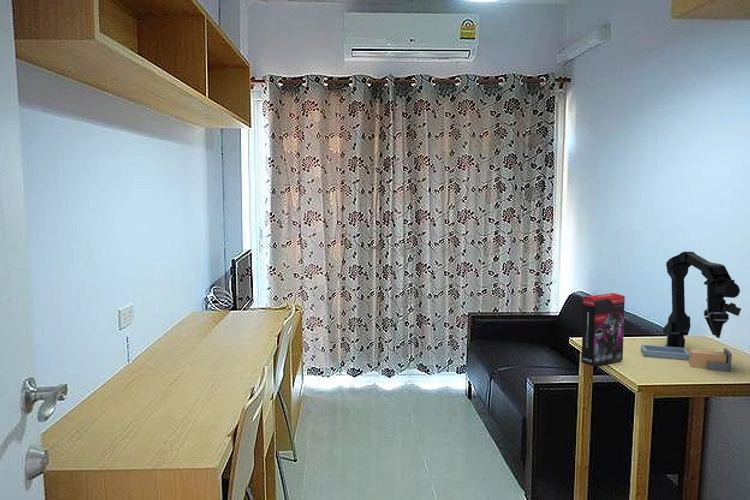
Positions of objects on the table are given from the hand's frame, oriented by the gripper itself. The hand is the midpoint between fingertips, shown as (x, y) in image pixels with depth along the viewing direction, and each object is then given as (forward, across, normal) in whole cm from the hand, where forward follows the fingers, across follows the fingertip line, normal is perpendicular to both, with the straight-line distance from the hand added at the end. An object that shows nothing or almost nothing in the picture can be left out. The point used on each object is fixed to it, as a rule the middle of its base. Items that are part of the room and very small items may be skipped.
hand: (716, 336), depth 237 cm
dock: (+12, +2, 0) cm, 13 cm away
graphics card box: (+11, -9, +42) cm, 45 cm away
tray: (+10, +12, +18) cm, 24 cm away
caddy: (+12, +1, +3) cm, 13 cm away
